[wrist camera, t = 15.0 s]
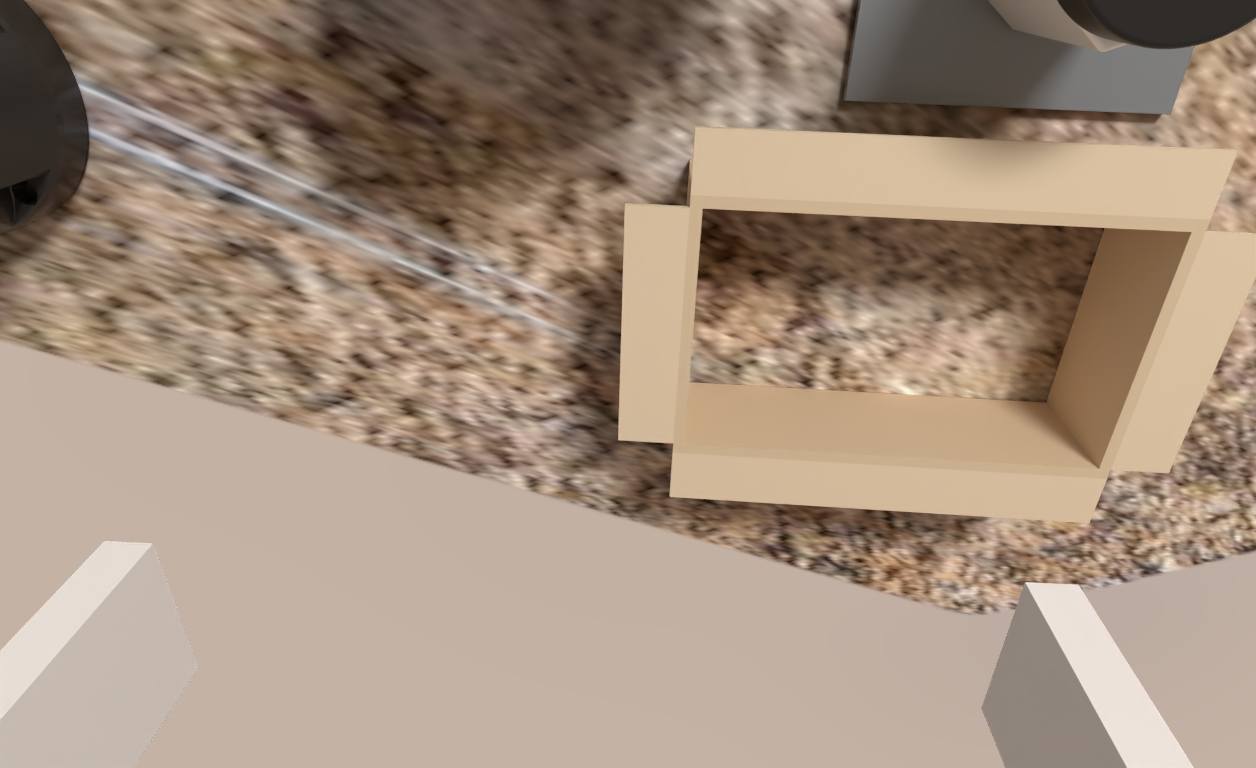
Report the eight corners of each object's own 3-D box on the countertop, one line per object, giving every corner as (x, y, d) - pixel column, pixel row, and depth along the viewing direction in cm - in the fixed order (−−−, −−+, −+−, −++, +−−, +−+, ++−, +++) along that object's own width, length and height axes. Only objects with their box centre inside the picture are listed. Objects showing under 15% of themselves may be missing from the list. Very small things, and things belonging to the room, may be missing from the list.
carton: (624, 427, 51) (616, 493, 45) (635, 98, 41) (627, 124, 35) (1088, 455, 50) (1144, 526, 43) (1214, 122, 40) (1310, 154, 34)
